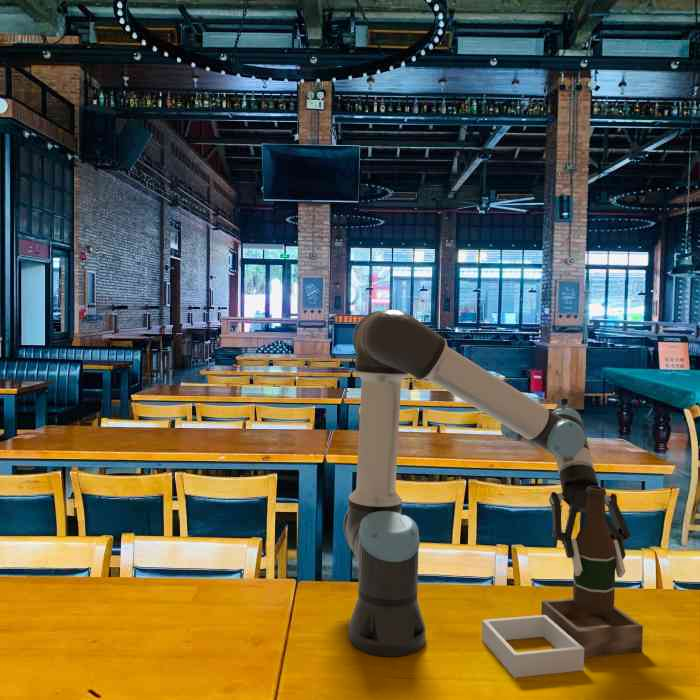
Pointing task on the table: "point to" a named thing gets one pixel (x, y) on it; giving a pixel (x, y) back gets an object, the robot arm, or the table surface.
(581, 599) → the beer bottle
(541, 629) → the white corral
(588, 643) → the wooden bin
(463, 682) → the table surface
